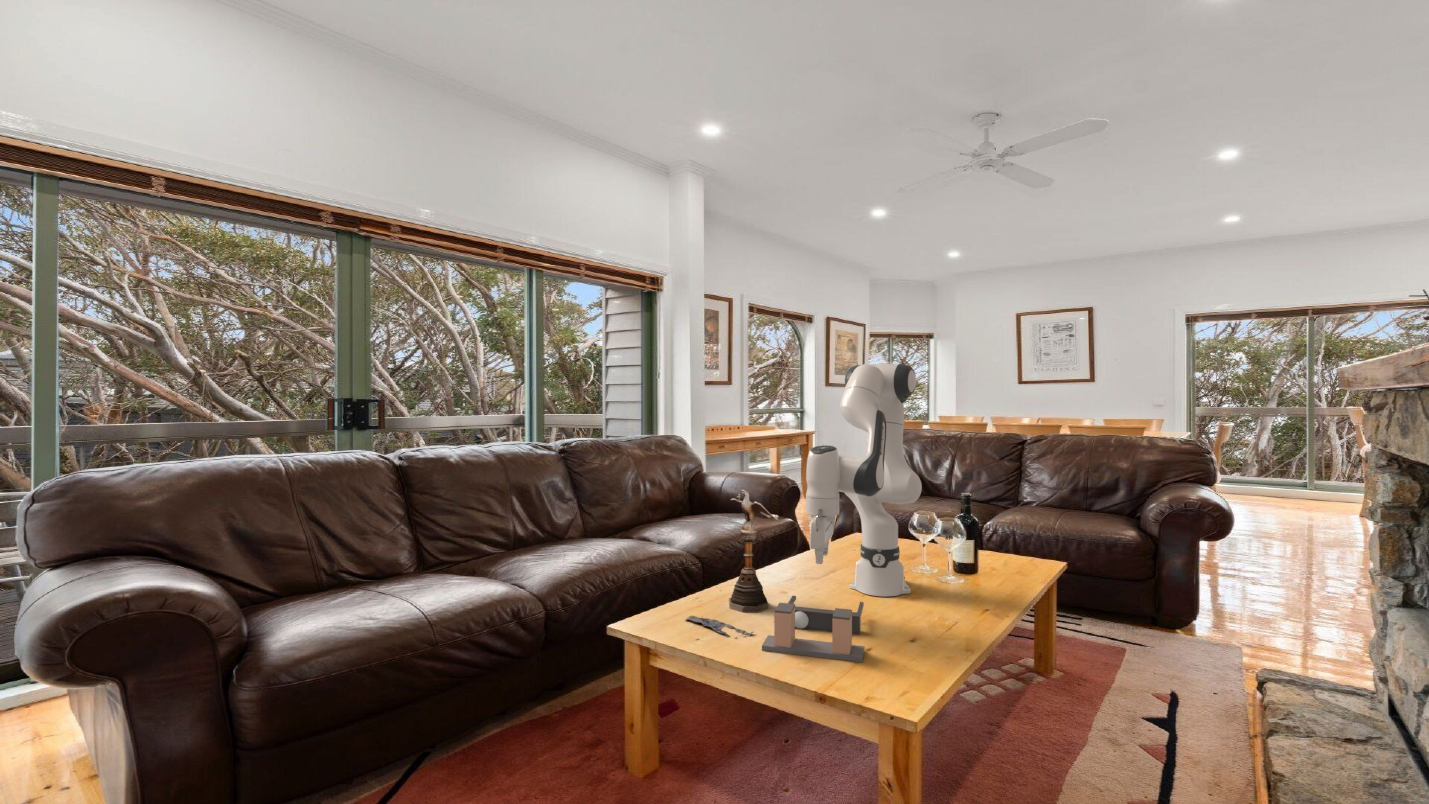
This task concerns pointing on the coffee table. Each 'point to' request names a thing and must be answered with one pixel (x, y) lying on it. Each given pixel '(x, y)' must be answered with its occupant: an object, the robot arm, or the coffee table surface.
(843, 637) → the stand
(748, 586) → the bird statue
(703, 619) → the driftwood
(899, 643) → the coffee table surface
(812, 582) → the coffee table surface
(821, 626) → the glasses
